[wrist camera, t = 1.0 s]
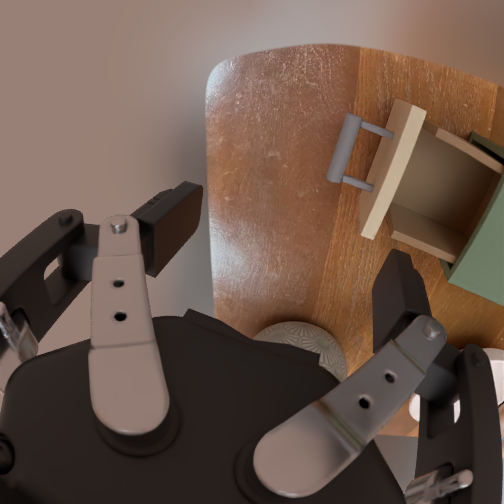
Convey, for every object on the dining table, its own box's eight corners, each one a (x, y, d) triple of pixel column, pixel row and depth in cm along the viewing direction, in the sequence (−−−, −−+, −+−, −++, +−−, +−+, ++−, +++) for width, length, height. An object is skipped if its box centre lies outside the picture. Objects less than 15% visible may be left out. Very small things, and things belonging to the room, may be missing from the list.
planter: (335, 381, 49) (321, 458, 37) (244, 358, 52) (214, 430, 40) (370, 319, 39) (366, 417, 27) (254, 289, 42) (214, 378, 30)
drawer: (320, 185, 30) (312, 218, 24) (353, 81, 23) (357, 82, 17) (459, 242, 28) (480, 285, 22) (502, 156, 21) (539, 182, 15)
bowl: (496, 303, 31) (510, 340, 25) (516, 363, 35) (524, 394, 29) (388, 359, 42) (388, 397, 36) (430, 404, 46) (431, 434, 40)
